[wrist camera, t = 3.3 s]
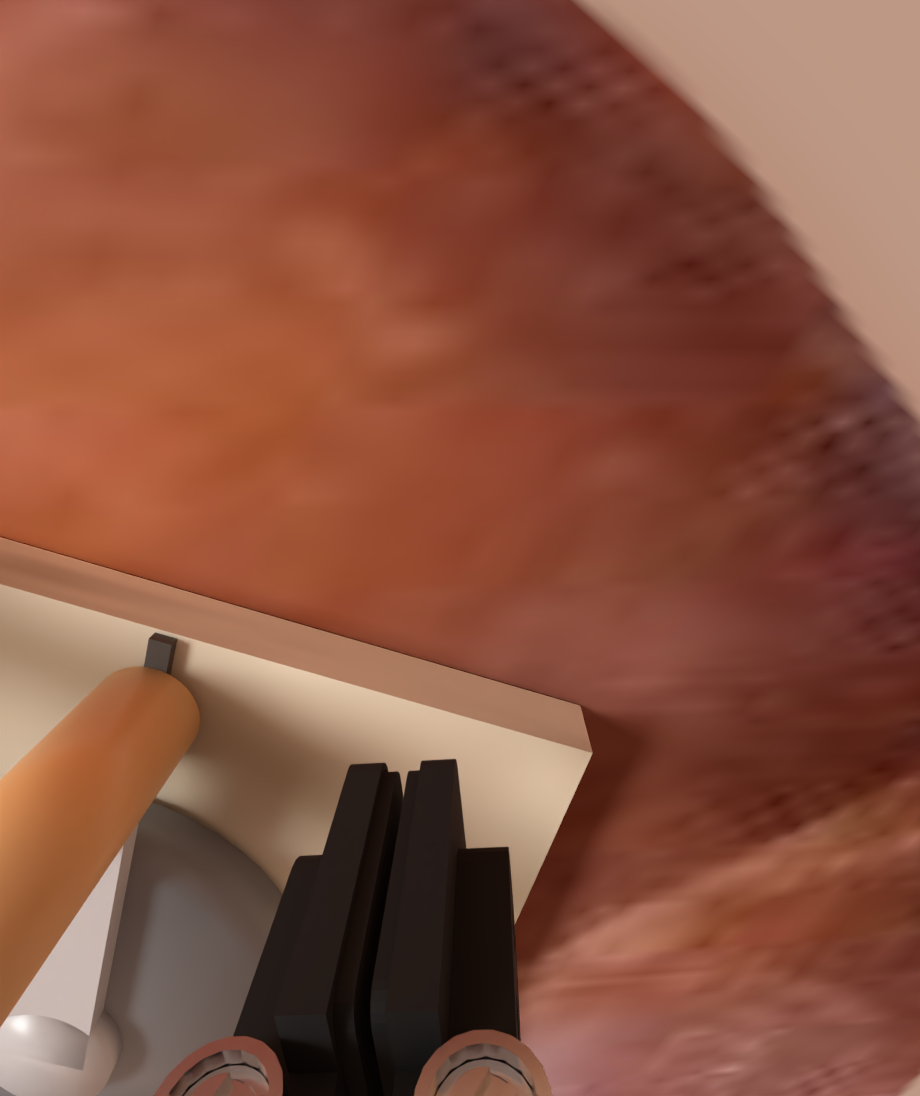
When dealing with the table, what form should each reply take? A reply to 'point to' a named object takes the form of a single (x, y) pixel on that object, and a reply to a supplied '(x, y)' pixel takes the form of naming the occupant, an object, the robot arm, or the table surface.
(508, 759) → the board
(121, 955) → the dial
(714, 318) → the table surface
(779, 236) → the table surface
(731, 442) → the table surface
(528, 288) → the table surface
